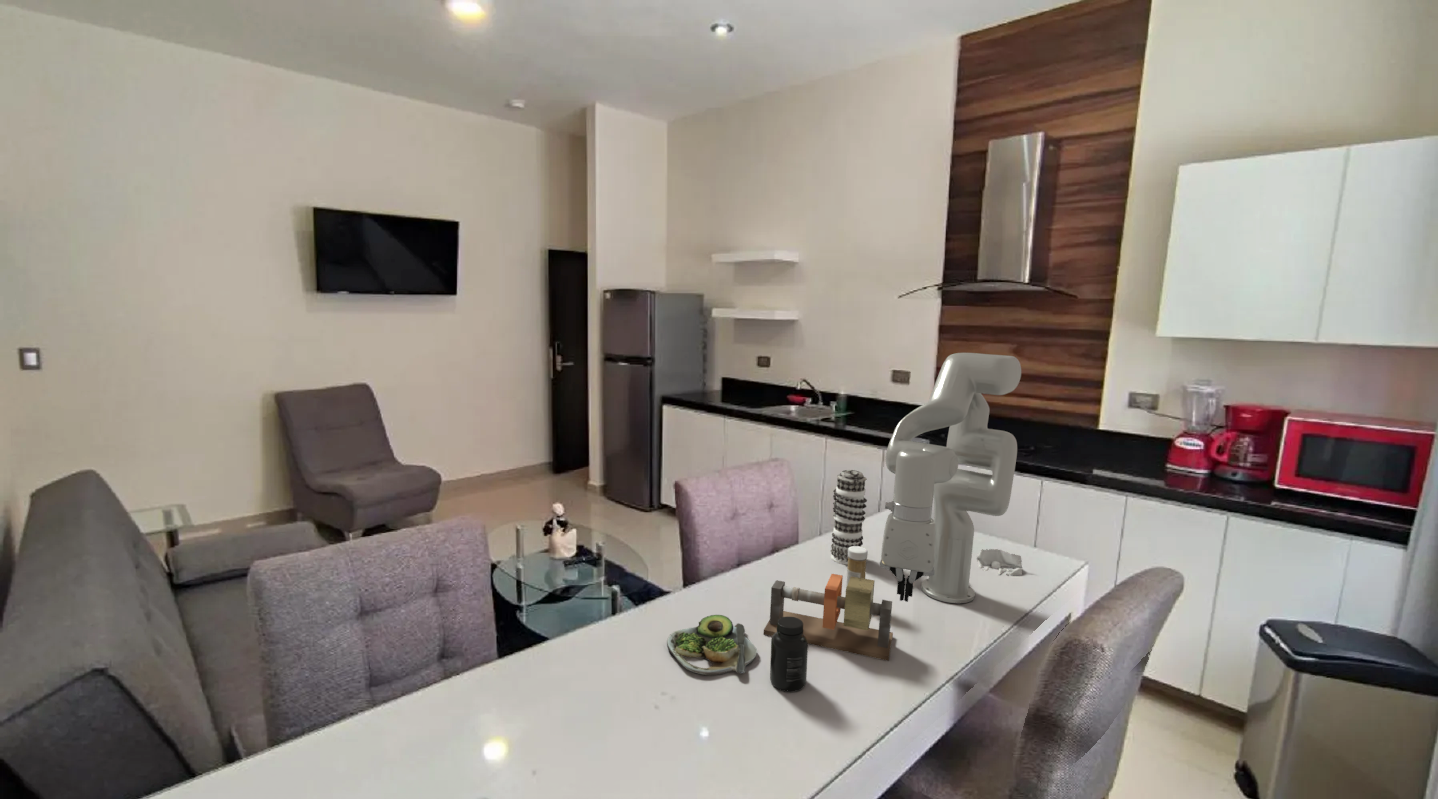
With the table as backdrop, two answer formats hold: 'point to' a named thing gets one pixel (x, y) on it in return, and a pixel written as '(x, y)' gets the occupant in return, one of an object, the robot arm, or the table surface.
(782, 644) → the supplement bottle
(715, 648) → the avocado toast plate
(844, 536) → the decorative candle
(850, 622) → the sleeve
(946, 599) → the robot arm
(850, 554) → the sprinkles bottle
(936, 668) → the table surface
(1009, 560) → the grey relief sculpture
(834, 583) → the orange rectangular slab
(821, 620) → the machine model on base
